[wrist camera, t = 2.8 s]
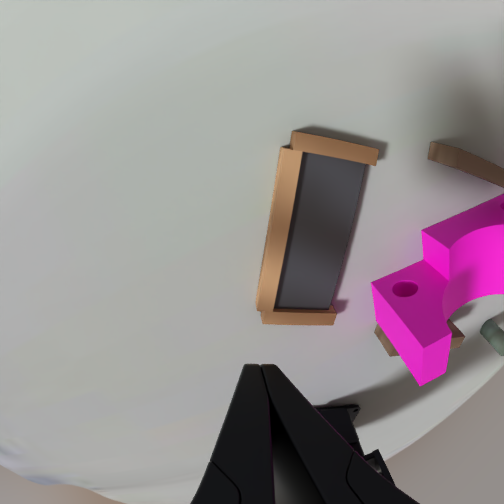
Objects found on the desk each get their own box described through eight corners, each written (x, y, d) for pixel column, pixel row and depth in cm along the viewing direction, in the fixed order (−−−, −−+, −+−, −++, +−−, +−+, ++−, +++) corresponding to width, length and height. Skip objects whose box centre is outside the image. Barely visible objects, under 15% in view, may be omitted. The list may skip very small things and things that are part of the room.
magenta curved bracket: (504, 191, 19) (568, 222, 12) (502, 253, 22) (555, 291, 15) (365, 251, 20) (424, 314, 13) (375, 319, 22) (420, 386, 16)
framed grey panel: (487, 333, 26) (506, 354, 22) (247, 347, 22) (253, 388, 18) (543, 178, 19) (571, 190, 15) (290, 78, 15) (311, 67, 11)
